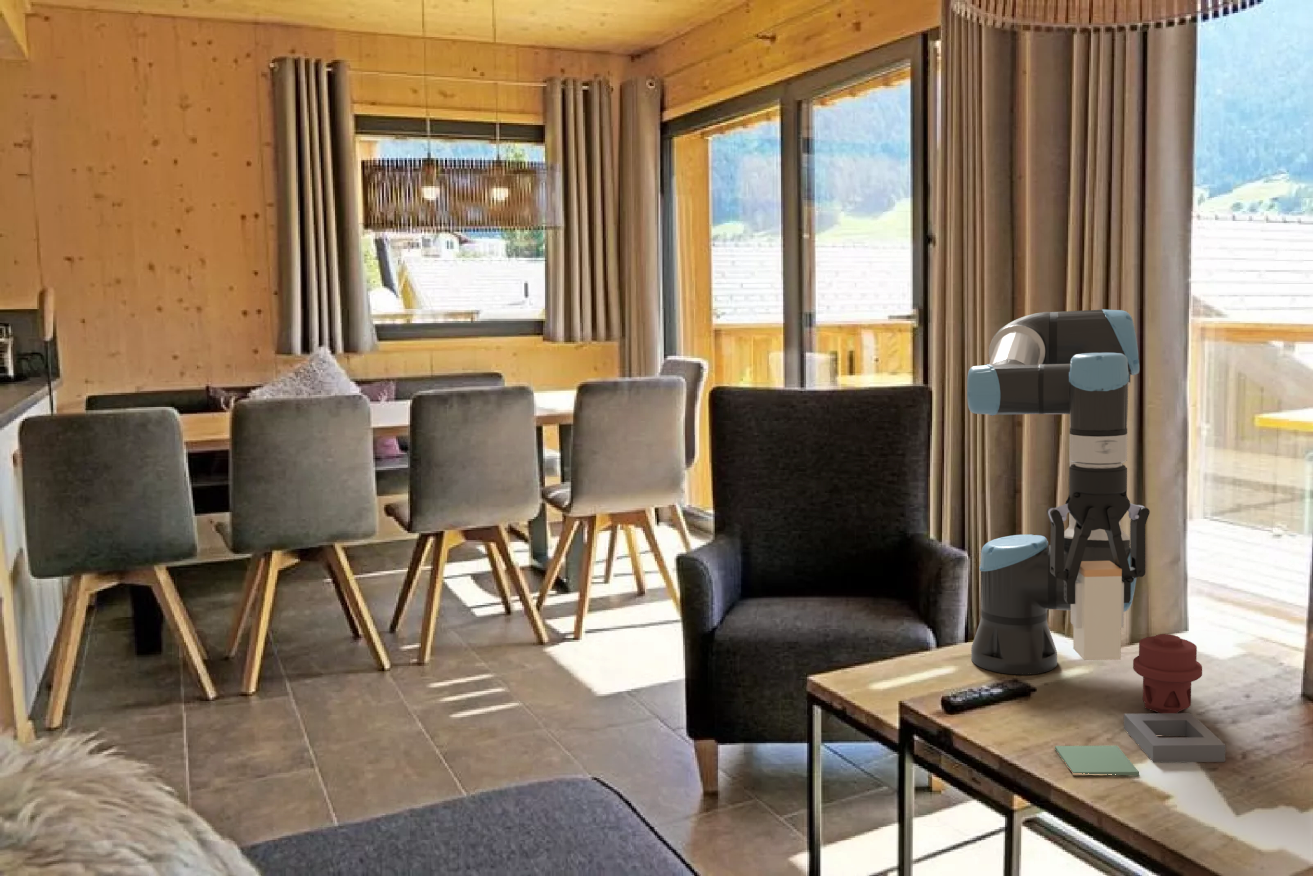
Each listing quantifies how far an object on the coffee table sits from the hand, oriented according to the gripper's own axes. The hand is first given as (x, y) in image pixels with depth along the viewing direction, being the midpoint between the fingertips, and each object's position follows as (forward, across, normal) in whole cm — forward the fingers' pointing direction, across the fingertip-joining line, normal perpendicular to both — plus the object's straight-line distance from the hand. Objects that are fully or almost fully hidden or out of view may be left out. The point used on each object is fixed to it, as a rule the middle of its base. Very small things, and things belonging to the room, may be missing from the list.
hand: (1096, 624), depth 153 cm
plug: (+4, 0, 0) cm, 4 cm away
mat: (+21, 0, 0) cm, 21 cm away
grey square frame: (+21, +13, +6) cm, 25 cm away
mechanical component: (+21, +17, +19) cm, 33 cm away
